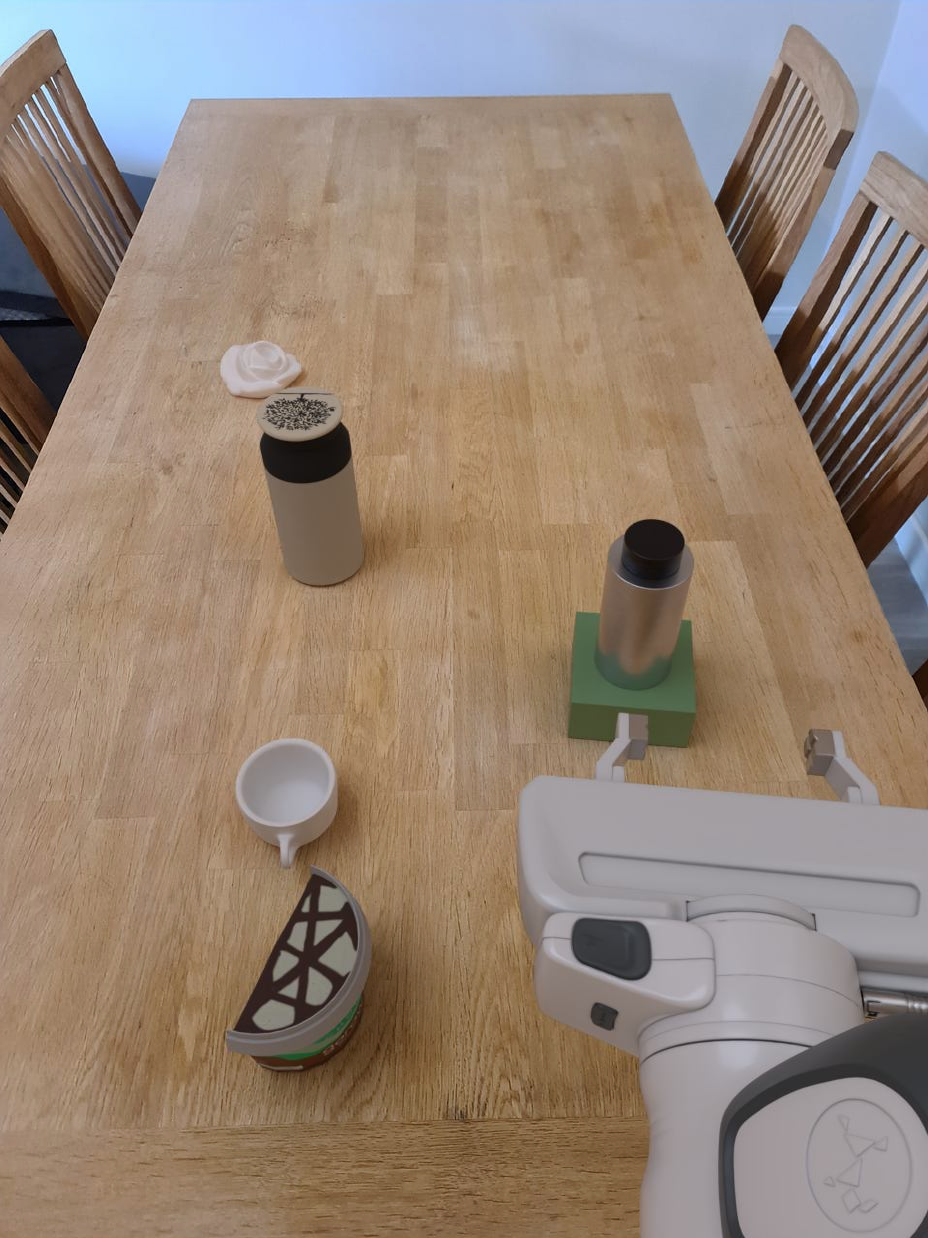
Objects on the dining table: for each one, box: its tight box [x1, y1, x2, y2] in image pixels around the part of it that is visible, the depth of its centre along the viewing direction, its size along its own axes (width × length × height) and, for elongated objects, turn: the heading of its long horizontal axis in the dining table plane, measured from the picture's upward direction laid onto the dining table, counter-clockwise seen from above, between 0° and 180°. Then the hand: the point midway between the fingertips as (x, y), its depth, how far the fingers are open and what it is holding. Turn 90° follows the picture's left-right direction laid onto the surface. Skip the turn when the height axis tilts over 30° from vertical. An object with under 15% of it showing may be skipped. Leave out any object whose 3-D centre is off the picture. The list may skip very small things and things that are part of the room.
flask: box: [594, 518, 695, 690], centre depth 76 cm, size 6×6×14 cm
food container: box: [224, 864, 373, 1073], centre depth 63 cm, size 12×6×10 cm, turn 160°
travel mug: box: [256, 385, 365, 586], centre depth 90 cm, size 8×8×18 cm
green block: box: [566, 611, 697, 748], centre depth 83 cm, size 10×10×5 cm
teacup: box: [234, 737, 339, 871], centre depth 75 cm, size 10×8×5 cm
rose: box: [219, 340, 303, 399], centre depth 116 cm, size 10×4×10 cm
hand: (725, 728), depth 49 cm, fingers open, 8 cm apart
